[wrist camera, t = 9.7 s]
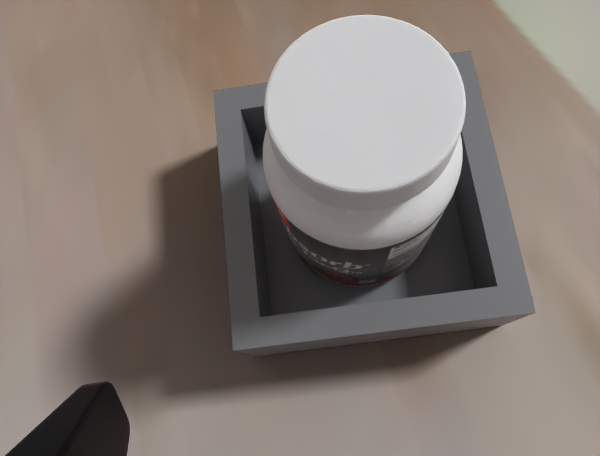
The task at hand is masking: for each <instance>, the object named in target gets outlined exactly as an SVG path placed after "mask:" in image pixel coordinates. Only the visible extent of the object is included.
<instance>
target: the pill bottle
mask: <svg viewBox="0 0 600 456" xmlns="http://www.w3.org/2000/svg"><path fill="white" fill-rule="evenodd" d="M465 113H466V97H465V90H464V85H463V81H462V78H461V75H460V73H459V70H458V68H457V66H456V64H455V62H454V61H453V59H452V58H451V56H450V55H449V53H448V52H447V51H446V50H445V49H444V48H443V47H442V46H441V44H440V43H439V42H438V41H437V40H435V39H434V38H433V37H432V36H431V35H429V34H427V33H426V32H425V31H423V30H421V29H420V28H418V27H416V26H414V25H412V24H410V23H406V22H404V21H401V20H397V19H394V18H390V17H386V16H377V15H354V16H348V17H343V18H338V19H335V20H332V21H329V22H326V23H323V24H321V25H319V26H317V27H315V28H313V29H311V30H310V31H308V32H306V33H305V34H303V35H302V36H300V37H299V38H298V39H297V40H295V41H294V42H293V43H292V44H291V45H290V46H289V47H288V48H287V49H286V51H285V52H284V53H283V54H282V56H281V57H280V58H279V60H278V61H277V63H276V65H275V66H274V68H273V71H272V73H271V75H270V77H269V80H268V83H267V87H266V92H265V99H264V115H265V123H266V128H267V129H266V132H265V137H264V143H263V167H264V173H265V177H266V182H267V185H268V188H269V191H270V193H271V196H272V198H273V200H274V202H275V205H276V207H277V209H278V212H279V214H280V216H281V219H282V221H283V224H284V226H285V228H286V231H287V233H288V235H289V238H290V241H291V243H292V245H293V247H294V249H295V250H296V252H297V254H298V255H299V257H300V258H301V259H302V261H303V262H304V263H305V264H306V265H307V266H308V267H309V268H310V269H311V270H312V271H314V272H315V273H316V274H318V275H319V276H321V277H323V278H325V279H327V280H329V281H331V282H334V283H336V284H340V285H345V286H352V287H366V286H373V285H377V284H381V283H384V282H387V281H389V280H391V279H393V278H395V277H397V276H398V275H400V274H401V273H403V272H404V271H405V270H406V269H407V268H408V267H410V266H411V265H412V263H413V262H414V261H415V260H416V259H417V257H418V256H419V255H420V253H421V252H422V250H423V248H424V246H425V245H426V243H427V241H428V239H429V237H430V236H431V234H432V232H433V230H434V228H435V227H436V225H437V223H438V221H439V219H440V218H441V216H442V214H443V212H444V211H445V209H446V207H447V205H448V204H449V202H450V200H451V198H452V196H453V194H454V191H455V189H456V186H457V183H458V180H459V177H460V173H461V167H462V160H463V147H462V139H461V134H460V133H461V131H462V127H463V124H464V119H465Z"/></svg>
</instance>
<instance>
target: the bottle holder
mask: <svg viewBox="0 0 600 456" xmlns="http://www.w3.org/2000/svg"><path fill="white" fill-rule="evenodd" d="M449 55H450V56H451V58H452V59H453V61H454V62H455V64H456V66H457V68H458V70H459V73H460V75H461V78H462V81H463V85H464V90H465V97H466V113H465V119H464V124H463V127H462V131H461V133H460V134H461V139H462V147H463V160H462V167H461V173H460V177H459V180H458V183H457V186H456V189H455V191H454V194H453V196H452V198H451V200H450V202H449V204H448V205H447V207H446V209H445V211H444V212H443V214H442V216H441V218H440V219H439V221H438V223H437V225H436V227H435V228H434V230H433V232H432V234H431V236H430V237H429V239H428V241H427V243H426V245H425V246H424V248H423V250H422V252H421V253H420V255H419V256H418V257H417V259H416V260H415V261H414V262H413V263H412V265H411V266H410V267H408V268H407V269H406V270H405V271H404V272H403V273H401V274H400V275H398V276H397V277H395V278H393V279H391V280H389V281H387V282H384V283H381V284H377V285H373V286H366V287H352V286H345V285H340V284H336V283H334V282H331V281H329V280H327V279H325V278H323V277H321V276H319V275H318V274H316V273H315V272H314V271H312V270H311V269H310V268H309V267H308V266H307V265H306V264H305V263H304V262H303V261H302V259H301V258H300V257H299V255H298V254H297V252H296V250H295V249H294V247H293V245H292V243H291V241H290V238H289V235H288V233H287V231H286V228H285V226H284V224H283V221H282V219H281V216H280V214H279V212H278V209H277V207H276V205H275V202H274V200H273V198H272V196H271V193H270V191H269V188H268V185H267V182H266V177H265V173H264V167H263V143H264V137H265V132H266V129H267V128H266V123H265V115H264V99H265V92H266V87H267V83H268V82H267V83H260V84H254V85H247V86H241V87H235V88H228V89H222V90H215V91H213V92H214V105H215V119H216V132H217V145H218V159H219V172H220V185H221V198H222V212H223V225H224V238H225V252H226V265H227V278H228V291H229V305H230V318H231V331H232V345H233V351H236V352H240V353H243V354H247V355H251V356H262V355H270V354H278V353H286V352H294V351H302V350H310V349H318V348H326V347H334V346H342V345H350V344H358V343H366V342H374V341H382V340H390V339H398V338H406V337H414V336H422V335H430V334H438V333H446V332H454V331H462V330H470V329H478V328H486V327H494V326H502V325H505V324H507V323H510V322H512V321H515V320H518V319H520V318H523V317H525V316H528V315H530V314H533V313H536V312H535V308H534V304H533V300H532V296H531V292H530V288H529V284H528V280H527V276H526V272H525V268H524V264H523V260H522V256H521V252H520V248H519V244H518V239H517V235H516V231H515V227H514V223H513V219H512V215H511V211H510V207H509V203H508V199H507V195H506V191H505V187H504V183H503V179H502V175H501V171H500V167H499V163H498V159H497V155H496V151H495V147H494V143H493V139H492V135H491V131H490V127H489V123H488V119H487V115H486V111H485V107H484V102H483V98H482V94H481V90H480V86H479V82H478V78H477V74H476V70H475V66H474V62H473V58H472V54H471V51H466V52H459V53H453V54H449Z"/></svg>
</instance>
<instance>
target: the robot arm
mask: <svg viewBox="0 0 600 456" xmlns="http://www.w3.org/2000/svg"><path fill="white" fill-rule="evenodd" d="M129 435H130V426H129V420H128V417H127V415H126V413H125V410H124V408H123V406H122V404H121V401H120V399H119V397H118V395H117V392H116V390H115V388H114V386H113V385H112V384H111V383H109V382H98V383H92V384H86V385H83V386H81V387H80V388H79V389H77V390H76V391H75V392H74V393H73V394H72V395H71V396H70V397H69V398H67V399H66V400H65V401H64V402H63V403H62V404H61V405H60V406H59V407H58V408H57V409H55V410H54V411H53V412H52V413H51V414H50V415H49V416H48V417H47V418H46V419H45V420H43V421H42V422H41V423H40V424H39V425H38V426H37V427H36V428H35V429H34V430H33V431H31V432H30V433H29V434H28V435H27V436H26V437H25V438H24V439H23V440H22V441H21V442H19V443H18V444H17V445H16V446H15V447H14V448H13V449H12V450H11V451H10V452H9V453H7V454H6V455H5V456H127V450H128V443H129Z"/></svg>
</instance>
